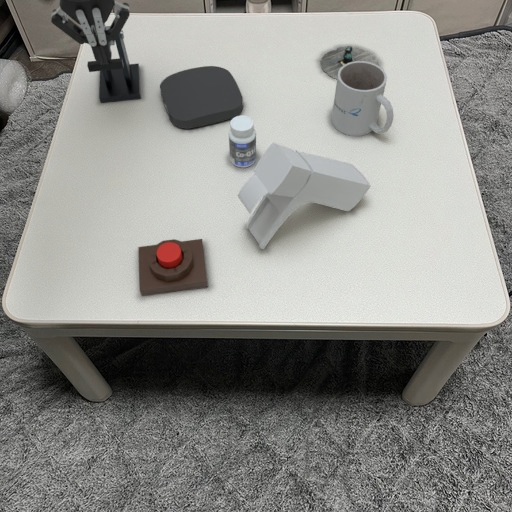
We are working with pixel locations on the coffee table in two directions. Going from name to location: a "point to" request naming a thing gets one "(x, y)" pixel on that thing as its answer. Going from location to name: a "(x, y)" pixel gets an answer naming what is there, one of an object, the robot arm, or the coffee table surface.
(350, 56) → the sculpture
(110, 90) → the bracket
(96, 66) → the lever
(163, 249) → the button
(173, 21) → the coffee table surface
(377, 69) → the mug
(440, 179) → the coffee table surface
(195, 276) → the button box
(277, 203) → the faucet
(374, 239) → the coffee table surface
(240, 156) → the pill bottle
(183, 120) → the media streaming box
